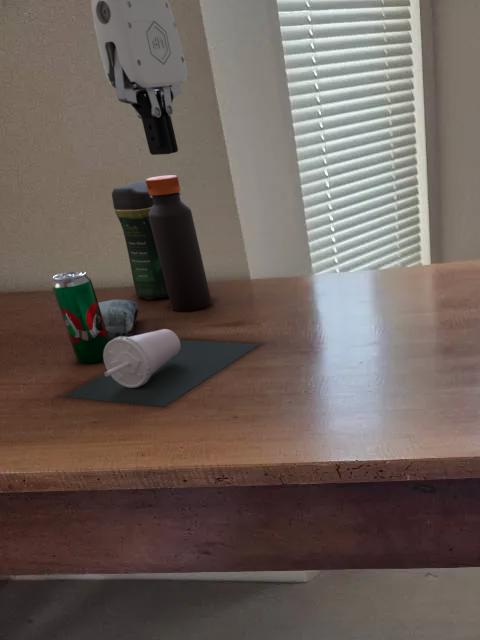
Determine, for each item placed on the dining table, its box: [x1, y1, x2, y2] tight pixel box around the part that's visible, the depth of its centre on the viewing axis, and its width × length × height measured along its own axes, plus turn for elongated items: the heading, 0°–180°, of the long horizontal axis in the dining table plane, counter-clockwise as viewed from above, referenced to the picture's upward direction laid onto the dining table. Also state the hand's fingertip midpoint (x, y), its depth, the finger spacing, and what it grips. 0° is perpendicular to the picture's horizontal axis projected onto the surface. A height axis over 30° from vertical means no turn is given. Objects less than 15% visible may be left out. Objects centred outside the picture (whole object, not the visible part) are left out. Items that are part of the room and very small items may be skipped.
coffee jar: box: [111, 180, 169, 300], centre depth 129 cm, size 10×8×19 cm
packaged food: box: [98, 298, 139, 341], centre depth 113 cm, size 9×12×5 cm
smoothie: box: [103, 328, 181, 388], centre depth 93 cm, size 6×6×14 cm
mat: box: [62, 339, 260, 408], centre depth 98 cm, size 16×22×1 cm
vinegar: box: [145, 174, 212, 312], centre depth 119 cm, size 7×7×20 cm
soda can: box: [51, 270, 111, 365], centre depth 101 cm, size 5×5×12 cm
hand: (164, 153), depth 92 cm, fingers closed
